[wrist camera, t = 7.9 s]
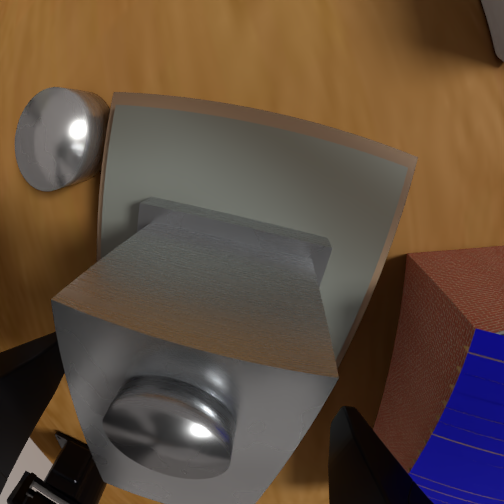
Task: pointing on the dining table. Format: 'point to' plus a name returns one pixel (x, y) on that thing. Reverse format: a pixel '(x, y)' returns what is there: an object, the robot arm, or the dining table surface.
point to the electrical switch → (496, 24)
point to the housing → (198, 353)
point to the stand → (259, 184)
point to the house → (449, 376)
